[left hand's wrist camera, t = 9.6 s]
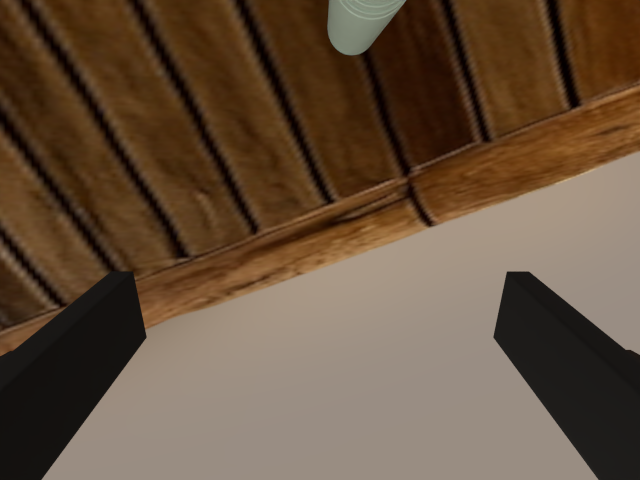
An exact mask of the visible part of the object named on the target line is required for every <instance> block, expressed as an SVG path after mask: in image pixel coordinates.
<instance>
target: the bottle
mask: <svg viewBox="0 0 640 480" xmlns="http://www.w3.org/2000/svg"><path fill="white" fill-rule="evenodd" d="M405 1H406V0H329V13H328V35H329V38H330V41H331V43H332V44H333V46H334V47H335V48H336V49H337V50H338V51H340V52H341V53H343V54H346V55H357V54H360V53H362V52H364V51H365V50H367V49H368V48H369V47H370V46H371V44H372V43H373V42H374V41H375V39H376V38H377V37H378V35H379V34H380V33H381V32H382V30H383V29H384V28H385V27H386V25H387V24H388V23H389V21H390V20H391V19H392V18H393V16H394V15H395V14H396V13H397V11H398V10H399V9H400V7H401V6H402V5H403V4H404V2H405Z"/></svg>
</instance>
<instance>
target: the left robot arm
mask: <svg viewBox="0 0 640 480" xmlns="http://www.w3.org/2000/svg"><path fill="white" fill-rule="evenodd" d="M145 339H146V332H145V327H144V322H143V318H142V313H141V308H140V303H139V298H138V293H137V289H136V284H135V279H134V274H133V272H110V273H109V274H108V275H106V276H105V277H104V278H103V279H101V280H100V281H99V282H98V283H96V284H95V285H94V286H93V287H92V288H90V289H89V290H88V291H87V292H85V293H84V294H83V295H82V296H80V297H79V298H78V299H77V300H75V301H74V302H73V303H72V304H71V305H69V306H68V307H67V308H66V309H64V310H63V311H62V312H61V313H59V314H58V315H57V316H56V317H54V318H53V319H52V320H51V321H49V322H48V323H47V324H46V325H45V326H43V327H42V328H41V329H40V330H38V331H37V332H36V333H35V334H33V335H32V336H31V337H30V338H28V339H27V340H26V341H25V342H24V343H22V344H21V345H20V346H19V347H17V348H16V349H15V350H14V351H10V352H8V353H6V354H4V355H2V356H0V480H42V478H43V477H44V475H45V474H46V473H47V471H48V470H49V469H50V467H51V466H52V465H53V463H54V462H55V461H56V459H57V458H58V457H59V455H60V454H61V452H62V451H63V450H64V448H65V447H66V446H67V444H68V443H69V442H70V440H71V439H72V438H73V436H74V435H75V434H76V432H77V431H78V429H79V428H80V427H81V425H82V424H83V423H84V421H85V420H86V419H87V417H88V416H89V415H90V413H91V412H92V411H93V409H94V408H95V406H96V405H97V404H98V402H99V401H100V400H101V398H102V397H103V396H104V394H105V393H106V392H107V390H108V389H109V388H110V386H111V385H112V383H113V382H114V381H115V379H116V378H117V377H118V375H119V374H120V373H121V371H122V370H123V369H124V367H125V366H126V365H127V363H128V362H129V360H130V359H131V358H132V356H133V355H134V354H135V352H136V351H137V350H138V348H139V347H140V346H141V344H142V343H143V341H144V340H145ZM494 339H495V340H496V342H497V343H498V344H499V346H500V347H501V348H502V350H503V351H504V352H505V354H506V355H507V356H508V358H509V359H510V360H511V362H512V363H513V365H514V366H515V367H516V369H517V370H518V371H519V373H520V374H521V375H522V377H523V378H524V379H525V381H526V382H527V383H528V385H529V386H530V387H531V389H532V390H533V392H534V393H535V394H536V396H537V397H538V398H539V400H540V401H541V402H542V404H543V405H544V406H545V408H546V409H547V411H548V412H549V413H550V415H551V416H552V417H553V419H554V420H555V421H556V423H557V424H558V425H559V427H560V428H561V429H562V431H563V432H564V434H565V435H566V436H567V438H568V439H569V440H570V442H571V443H572V444H573V446H574V447H575V448H576V450H577V451H578V452H579V454H580V455H581V456H582V458H583V459H584V461H585V462H586V463H587V465H588V466H589V467H590V469H591V470H592V471H593V473H594V474H595V475H596V477H597V478H598V480H640V355H639V354H637V353H635V352H633V351H631V350H625V349H624V348H623V347H621V346H620V345H619V344H618V343H616V342H615V341H614V340H613V339H612V338H610V337H609V336H608V335H607V334H605V333H604V332H603V331H601V330H600V329H599V328H598V327H597V326H595V325H594V324H593V323H592V322H590V321H589V320H588V319H587V318H585V317H584V316H583V315H582V314H581V313H579V312H578V311H577V310H576V309H574V308H573V307H572V306H571V305H569V304H568V303H567V302H566V301H565V300H563V299H562V298H561V297H560V296H558V295H557V294H556V293H555V292H553V291H552V290H551V289H550V288H548V287H547V286H546V285H545V284H544V283H542V282H541V281H540V280H539V279H537V278H536V277H535V276H533V275H532V274H531V273H530V272H507V274H506V279H505V284H504V289H503V293H502V298H501V303H500V308H499V313H498V318H497V322H496V327H495V332H494Z"/></svg>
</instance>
